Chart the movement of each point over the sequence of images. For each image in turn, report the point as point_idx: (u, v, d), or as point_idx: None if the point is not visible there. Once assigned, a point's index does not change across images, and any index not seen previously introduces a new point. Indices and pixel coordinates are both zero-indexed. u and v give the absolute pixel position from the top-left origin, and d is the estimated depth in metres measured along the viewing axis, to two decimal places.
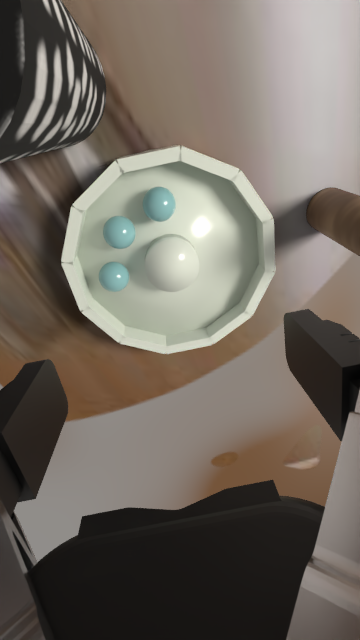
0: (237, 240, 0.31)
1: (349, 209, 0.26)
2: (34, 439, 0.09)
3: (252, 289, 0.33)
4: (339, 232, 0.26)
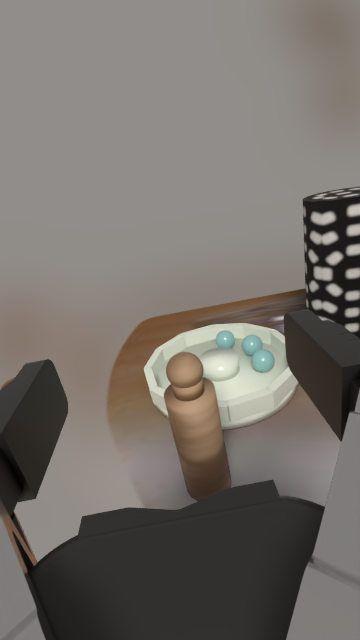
0: None
1: None
2: (34, 439, 0.09)
3: None
4: None
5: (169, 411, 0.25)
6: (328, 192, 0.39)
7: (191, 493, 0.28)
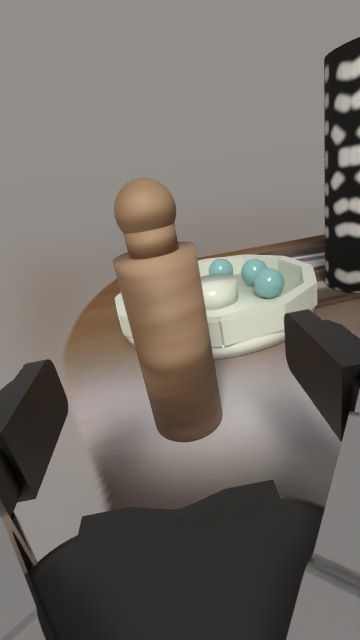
0: None
1: None
2: (34, 439, 0.09)
3: None
4: None
5: (120, 279, 0.15)
6: None
7: (161, 429, 0.18)
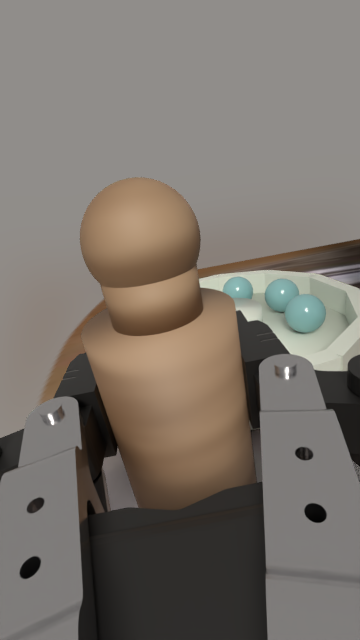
0: None
1: None
2: None
3: None
4: None
5: (94, 370, 0.08)
6: None
7: None
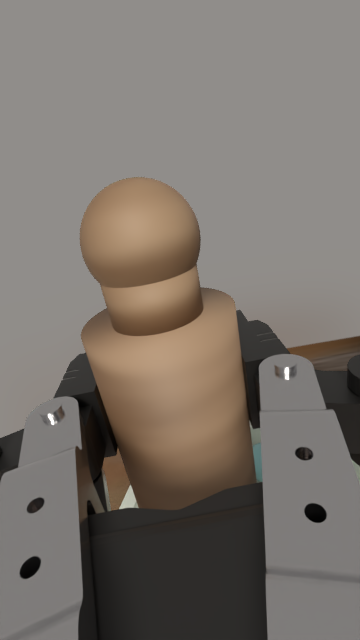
0: None
1: None
2: None
3: None
4: None
5: (94, 370, 0.08)
6: None
7: None
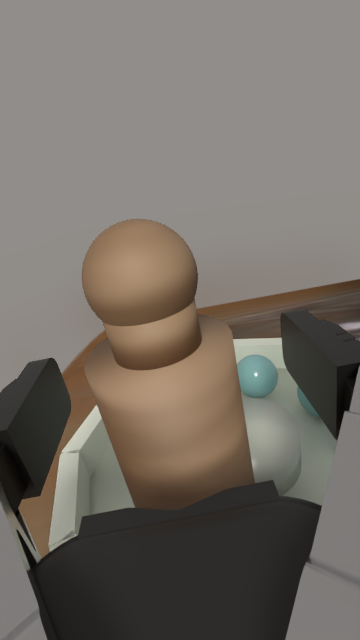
0: None
1: None
2: (38, 437, 0.09)
3: None
4: None
5: (97, 402, 0.08)
6: None
7: None
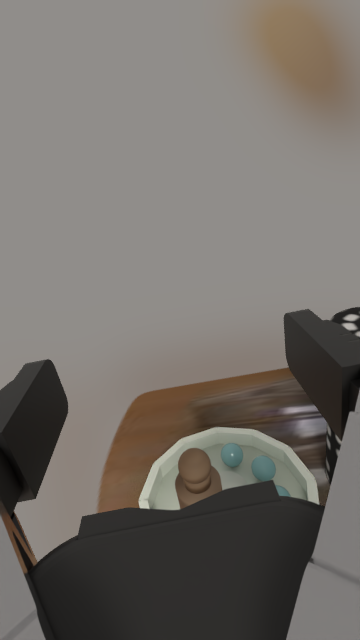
0: None
1: None
2: (34, 440, 0.09)
3: None
4: None
5: (180, 501, 0.28)
6: (358, 311, 0.33)
7: None
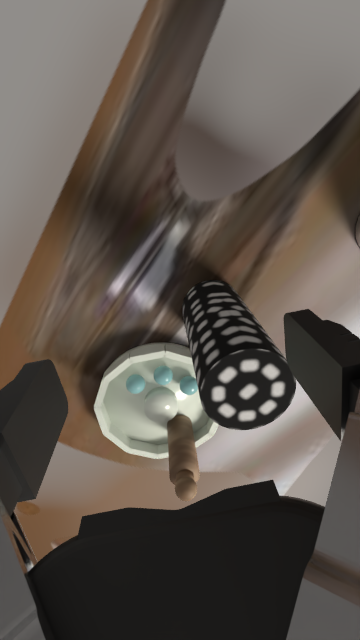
0: None
1: (185, 443, 0.46)
2: (34, 439, 0.09)
3: None
4: (172, 447, 0.46)
5: None
6: (217, 378, 0.27)
7: None
